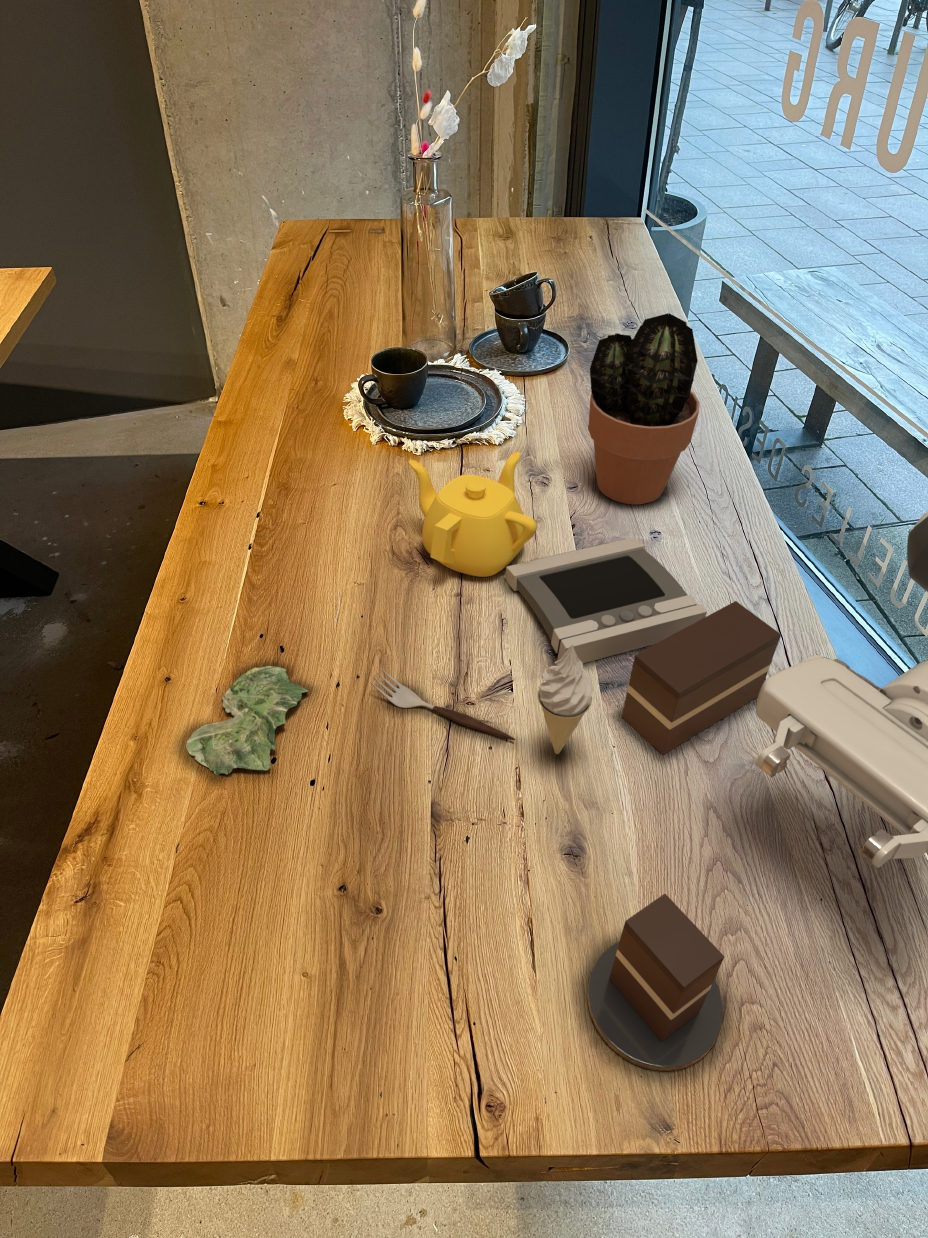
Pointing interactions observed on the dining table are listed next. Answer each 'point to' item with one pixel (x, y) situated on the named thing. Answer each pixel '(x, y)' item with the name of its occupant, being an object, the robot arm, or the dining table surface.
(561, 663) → the ice cream cone
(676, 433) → the potted plant
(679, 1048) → the plate
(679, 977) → the cake slice
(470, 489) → the teapot
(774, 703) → the robot arm
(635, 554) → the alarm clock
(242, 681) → the lettuce leaf
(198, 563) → the dining table surface
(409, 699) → the fork
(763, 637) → the cake loaf
